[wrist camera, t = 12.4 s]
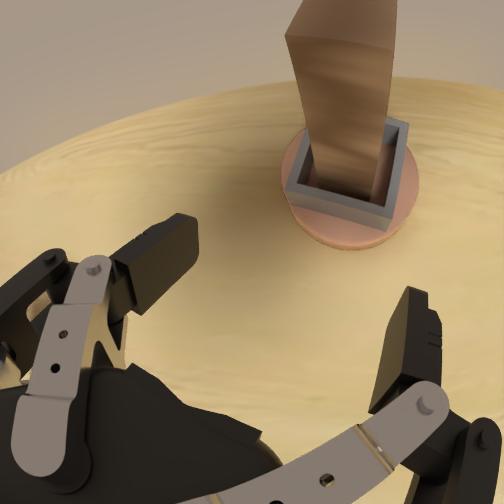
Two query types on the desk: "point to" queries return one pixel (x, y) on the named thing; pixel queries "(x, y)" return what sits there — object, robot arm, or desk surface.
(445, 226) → the desk surface
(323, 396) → the desk surface
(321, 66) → the brown wooden block
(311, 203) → the dish
